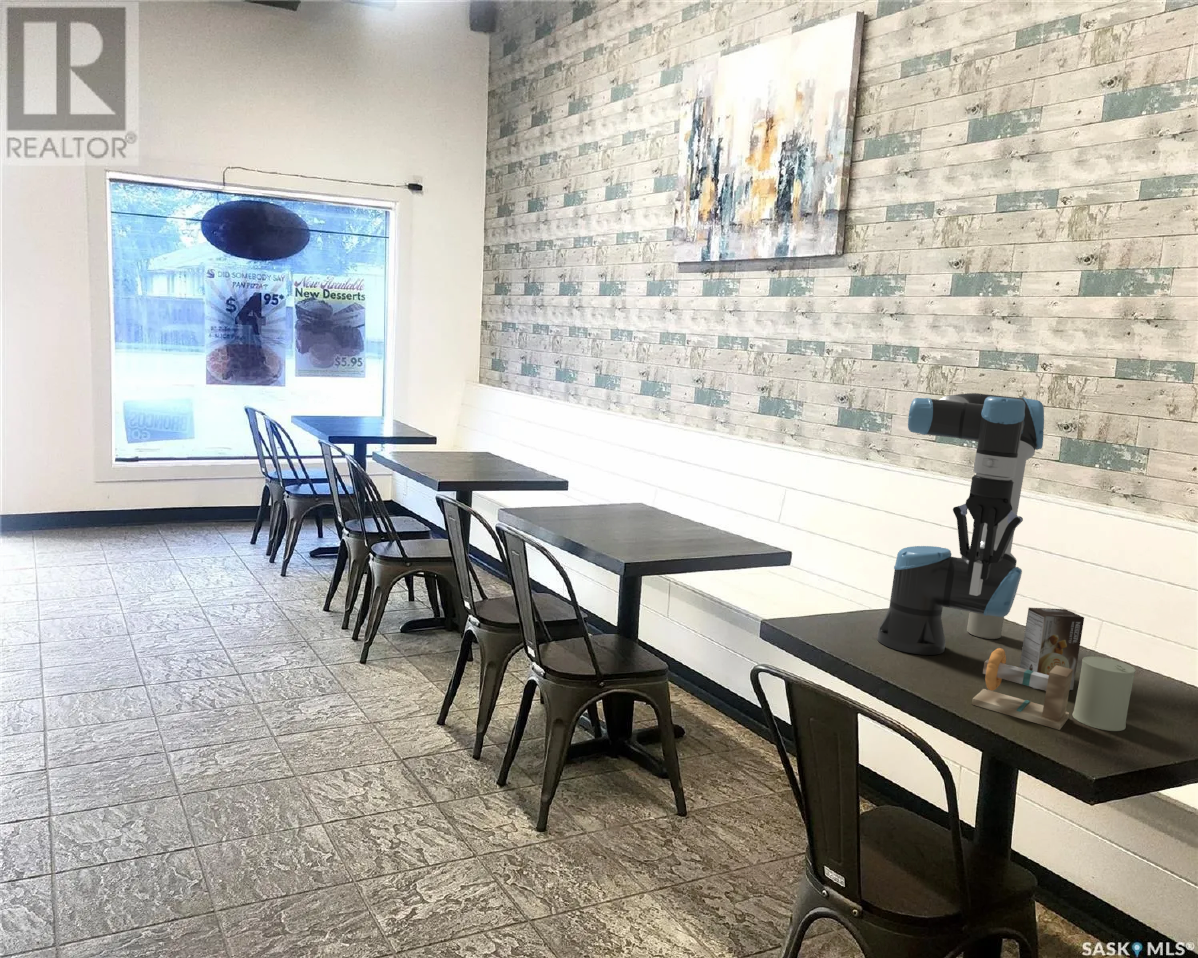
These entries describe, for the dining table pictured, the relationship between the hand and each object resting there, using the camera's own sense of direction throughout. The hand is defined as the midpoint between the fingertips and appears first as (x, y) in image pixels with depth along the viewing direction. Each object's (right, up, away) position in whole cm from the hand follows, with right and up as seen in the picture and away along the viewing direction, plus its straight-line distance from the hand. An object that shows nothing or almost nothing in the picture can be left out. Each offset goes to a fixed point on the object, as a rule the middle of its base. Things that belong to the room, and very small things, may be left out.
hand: (974, 593), depth 189 cm
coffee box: (+20, -21, +14) cm, 33 cm away
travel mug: (+21, -16, +48) cm, 55 cm away
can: (+22, -24, -5) cm, 33 cm away
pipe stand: (+7, -22, -3) cm, 24 cm away
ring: (+3, -19, -1) cm, 19 cm away
